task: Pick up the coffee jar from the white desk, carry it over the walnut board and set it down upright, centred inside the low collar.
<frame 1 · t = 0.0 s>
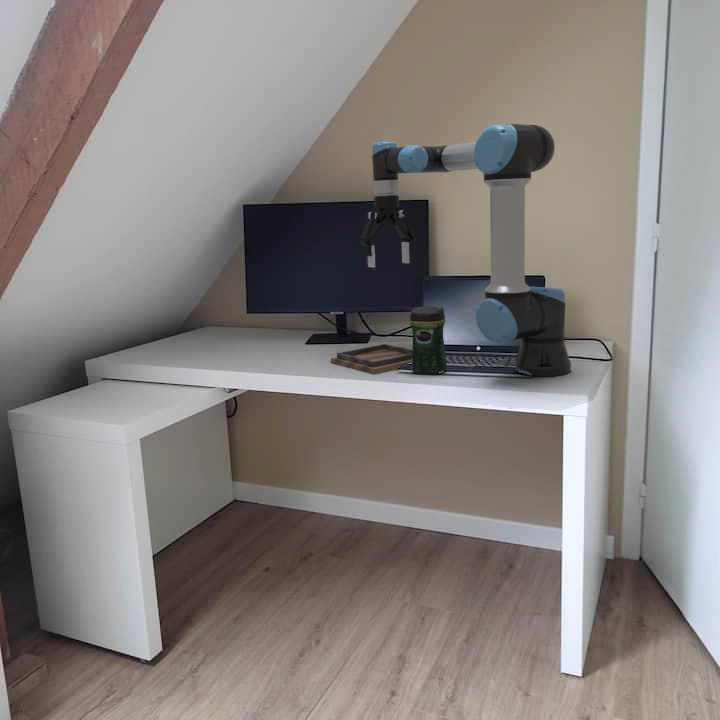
hand: (389, 265, 227), 28 cm above the table, tool pointing down, fingers open, 13 cm apart
coffee jar: (429, 372, 206), on the table
collar board: (380, 362, 221), on the table
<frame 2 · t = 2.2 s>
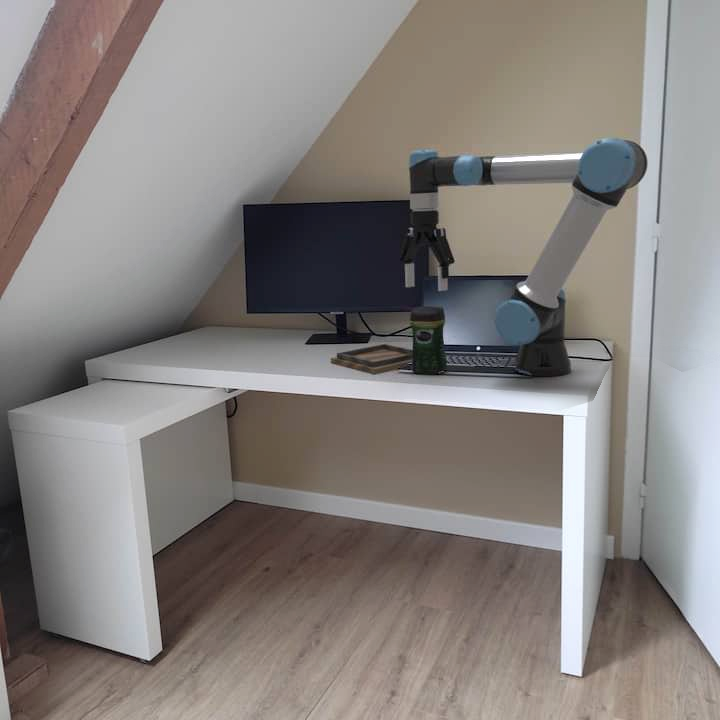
hand: (426, 288, 201), 24 cm above the table, tool pointing down, fingers open, 13 cm apart
nothing on the table moved.
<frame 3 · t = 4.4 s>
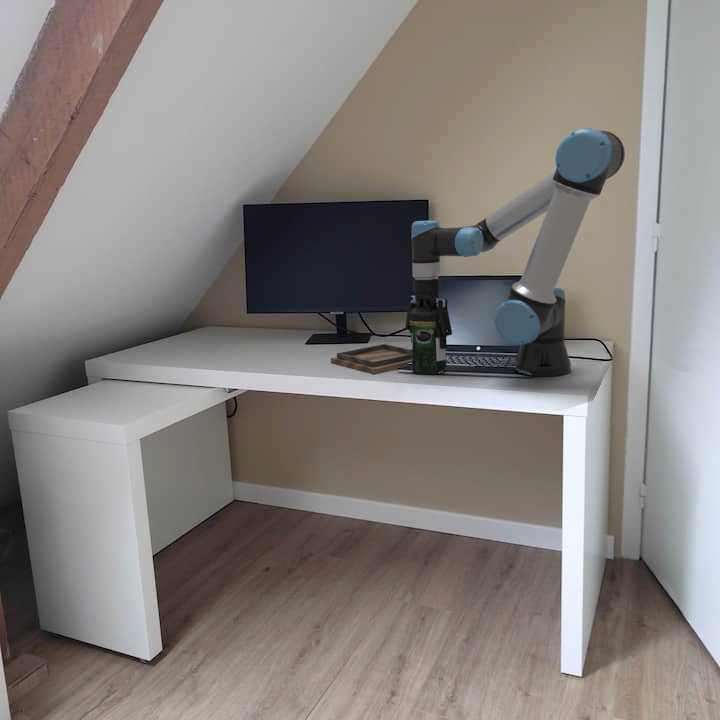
hand: (428, 357, 205), 4 cm above the table, tool pointing down, fingers closed on coffee jar, 9 cm apart
coffee jar: (429, 372, 206), on the table, touching gripper
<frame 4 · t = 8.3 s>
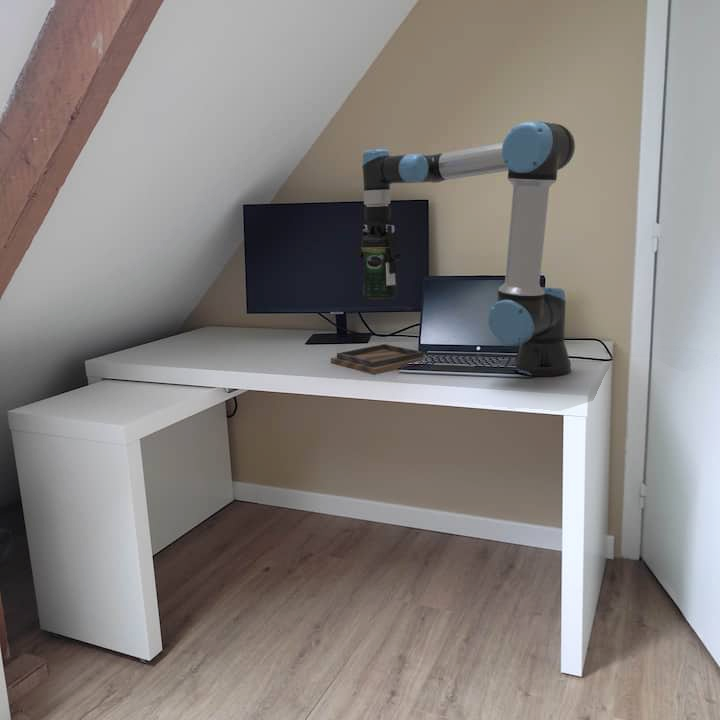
hand: (380, 283, 215), 24 cm above the table, tool pointing down, fingers closed on coffee jar, 9 cm apart
coffee jar: (380, 298, 216), point 20 cm above the table, touching gripper
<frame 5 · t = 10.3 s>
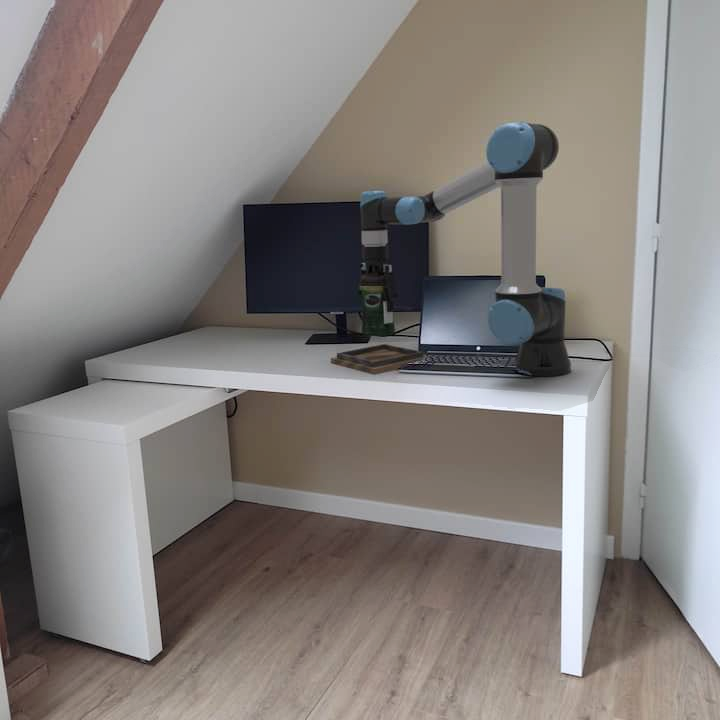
hand: (378, 320, 218), 13 cm above the table, tool pointing down, fingers closed on coffee jar, 9 cm apart
coffee jar: (378, 335, 219), point 8 cm above the table, touching gripper
when the fingers open (6 cm above the table, at t = 12.2 s): coffee jar stays where it is, resting on collar board.
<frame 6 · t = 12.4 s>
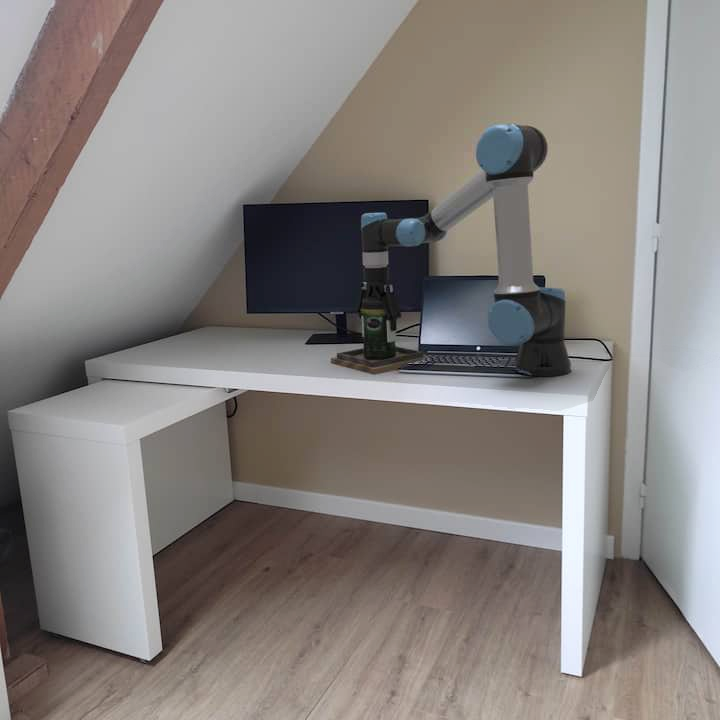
hand: (379, 339, 219), 7 cm above the table, tool pointing down, fingers open, 11 cm apart
coffee jar: (379, 357, 221), point 1 cm above the table, touching collar board
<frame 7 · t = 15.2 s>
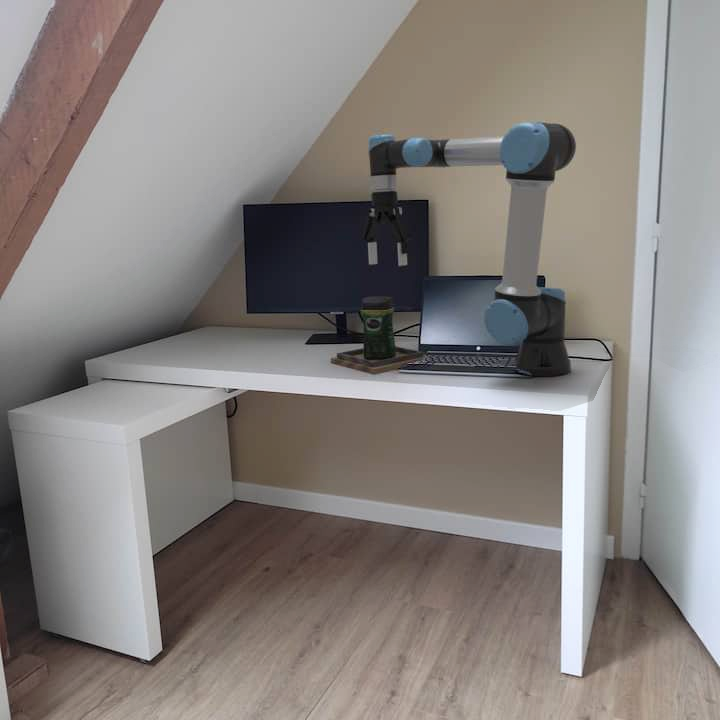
hand: (387, 264, 216), 29 cm above the table, tool pointing down, fingers open, 13 cm apart
nothing on the table moved.
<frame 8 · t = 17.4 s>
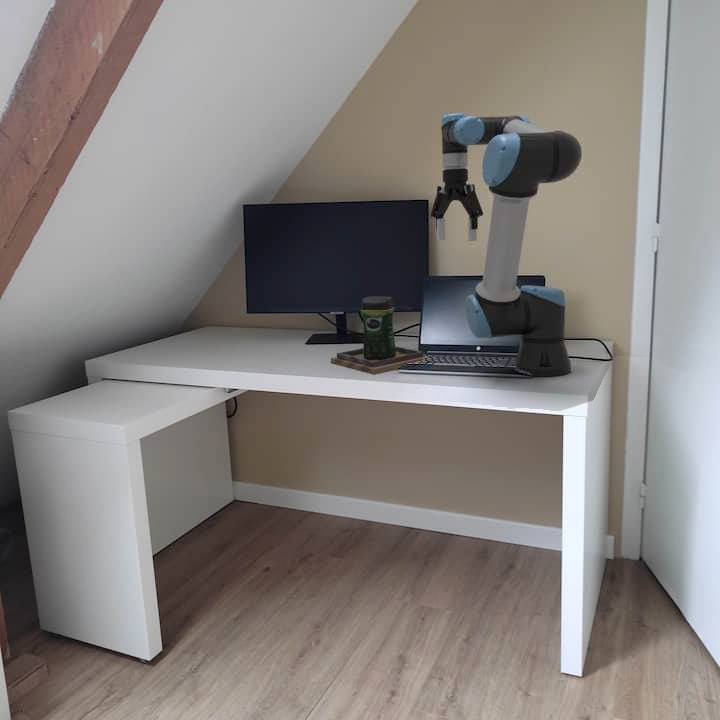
hand: (456, 240, 223), 35 cm above the table, tool pointing down, fingers open, 13 cm apart
nothing on the table moved.
at the end: coffee jar inside the target area on the collar board (0.0 cm from its centre), point 1.3 cm above the collar board's base; coffee jar tilted 0°; the gripper is holding nothing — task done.
